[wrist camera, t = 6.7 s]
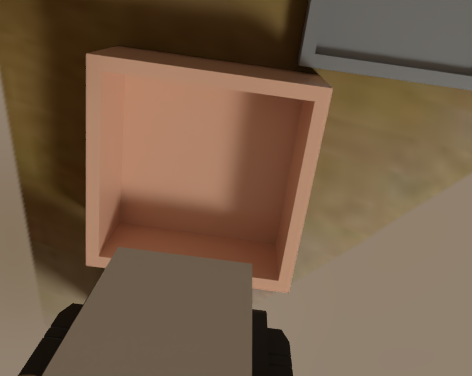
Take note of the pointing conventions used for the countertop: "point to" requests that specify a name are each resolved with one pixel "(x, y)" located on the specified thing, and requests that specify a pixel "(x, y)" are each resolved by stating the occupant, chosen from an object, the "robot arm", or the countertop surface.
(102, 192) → the bin
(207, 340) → the cream rectangular block
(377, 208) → the countertop surface
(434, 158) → the countertop surface
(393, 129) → the countertop surface
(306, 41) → the tray
